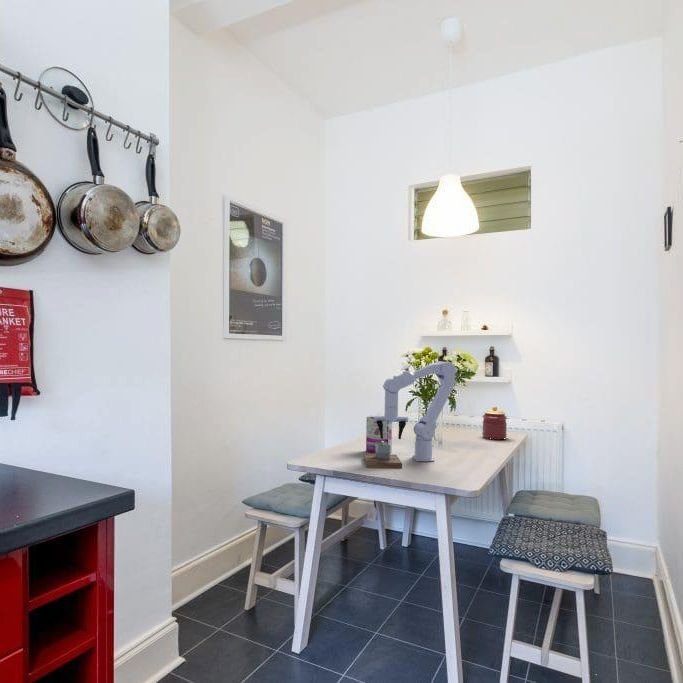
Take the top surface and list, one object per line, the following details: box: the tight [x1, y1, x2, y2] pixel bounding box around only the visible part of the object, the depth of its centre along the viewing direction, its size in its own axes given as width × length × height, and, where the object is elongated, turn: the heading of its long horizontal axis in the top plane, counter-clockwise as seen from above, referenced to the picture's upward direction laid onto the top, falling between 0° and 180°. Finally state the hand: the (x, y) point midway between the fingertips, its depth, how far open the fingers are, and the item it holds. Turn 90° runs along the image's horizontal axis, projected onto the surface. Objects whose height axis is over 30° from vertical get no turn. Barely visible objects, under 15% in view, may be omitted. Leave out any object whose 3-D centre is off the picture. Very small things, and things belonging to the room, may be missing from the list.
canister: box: [481, 406, 508, 440], centre depth 270 cm, size 13×13×18 cm
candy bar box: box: [365, 415, 393, 454], centre depth 225 cm, size 11×5×16 cm, turn 62°
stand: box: [363, 453, 403, 469], centre depth 203 cm, size 16×14×2 cm
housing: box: [374, 441, 391, 461], centre depth 204 cm, size 5×8×7 cm, turn 2°
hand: (390, 438), depth 209 cm, fingers open, 7 cm apart
